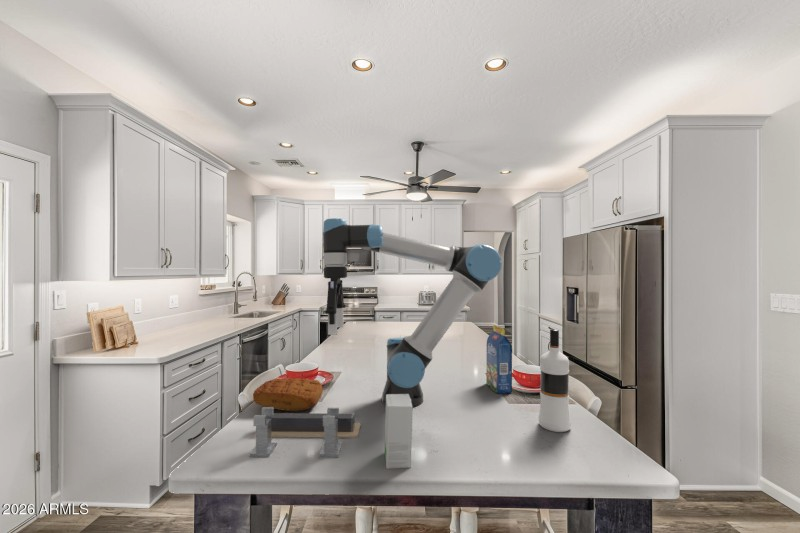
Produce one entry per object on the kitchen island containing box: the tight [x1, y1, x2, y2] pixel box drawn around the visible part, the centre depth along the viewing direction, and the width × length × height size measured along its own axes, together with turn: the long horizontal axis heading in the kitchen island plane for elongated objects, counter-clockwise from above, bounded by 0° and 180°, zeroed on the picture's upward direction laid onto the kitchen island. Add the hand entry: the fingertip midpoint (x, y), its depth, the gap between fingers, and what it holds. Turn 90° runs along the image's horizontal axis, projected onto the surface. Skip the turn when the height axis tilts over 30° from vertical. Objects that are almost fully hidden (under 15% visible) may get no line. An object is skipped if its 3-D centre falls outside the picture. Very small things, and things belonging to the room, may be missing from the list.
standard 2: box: [318, 407, 343, 458], centre depth 96 cm, size 5×6×10 cm
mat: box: [253, 423, 361, 438], centre depth 108 cm, size 30×8×1 cm, turn 89°
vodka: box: [537, 328, 572, 433], centre depth 111 cm, size 9×9×30 cm
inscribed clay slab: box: [252, 377, 324, 412], centre depth 128 cm, size 22×17×8 cm
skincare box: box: [384, 394, 414, 470], centre depth 92 cm, size 8×7×16 cm
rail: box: [266, 412, 356, 432], centre depth 108 cm, size 27×4×4 cm, turn 89°
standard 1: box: [249, 406, 278, 458], centre depth 96 cm, size 5×6×10 cm
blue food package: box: [485, 324, 513, 394], centre depth 146 cm, size 6×12×25 cm, turn 6°
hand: (336, 330), depth 118 cm, fingers open, 13 cm apart
